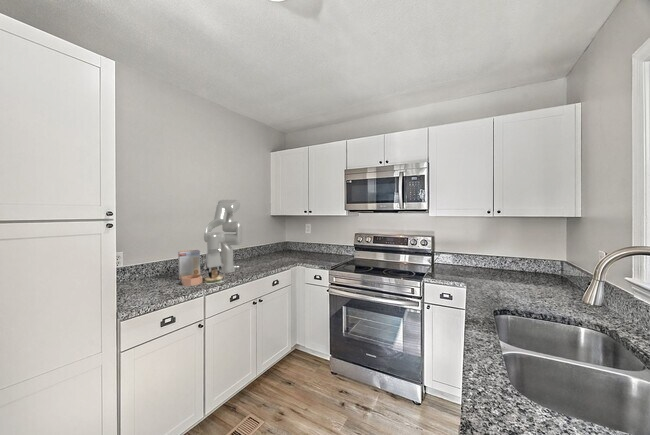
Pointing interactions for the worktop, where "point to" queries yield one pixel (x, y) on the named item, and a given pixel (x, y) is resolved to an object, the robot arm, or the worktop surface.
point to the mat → (213, 281)
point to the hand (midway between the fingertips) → (213, 276)
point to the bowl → (191, 280)
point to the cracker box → (189, 263)
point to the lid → (214, 276)
